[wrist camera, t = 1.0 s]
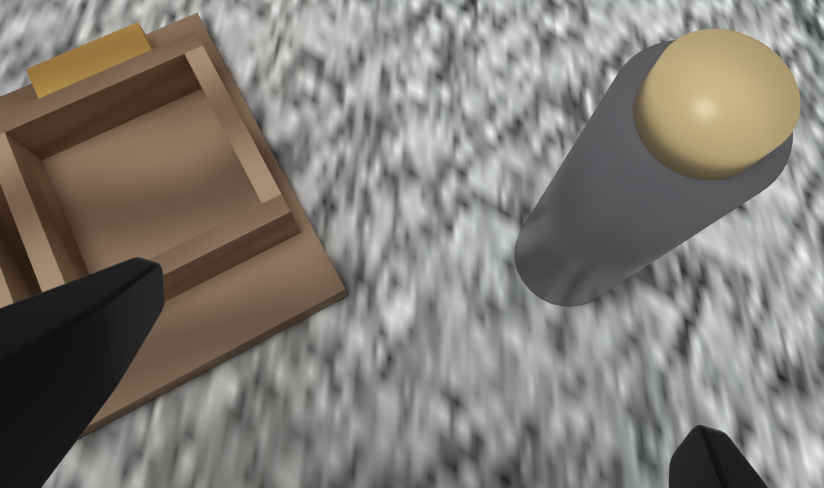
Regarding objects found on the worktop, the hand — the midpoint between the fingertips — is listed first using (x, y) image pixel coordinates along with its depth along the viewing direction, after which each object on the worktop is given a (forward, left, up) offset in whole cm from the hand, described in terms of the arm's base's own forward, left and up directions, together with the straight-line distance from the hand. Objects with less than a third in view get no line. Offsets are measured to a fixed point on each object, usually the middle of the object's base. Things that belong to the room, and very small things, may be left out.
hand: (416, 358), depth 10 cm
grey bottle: (+2, -9, -15) cm, 17 cm away
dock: (+12, +10, -15) cm, 22 cm away
